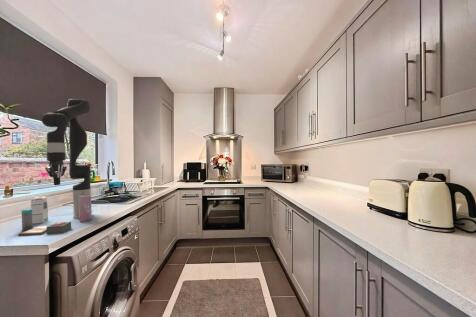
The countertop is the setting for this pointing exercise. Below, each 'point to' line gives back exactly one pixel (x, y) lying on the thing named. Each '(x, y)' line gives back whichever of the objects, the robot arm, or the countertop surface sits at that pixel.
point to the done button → (59, 223)
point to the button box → (58, 228)
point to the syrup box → (39, 209)
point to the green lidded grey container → (27, 219)
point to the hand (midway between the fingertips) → (57, 184)
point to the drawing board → (34, 231)
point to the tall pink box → (85, 208)
